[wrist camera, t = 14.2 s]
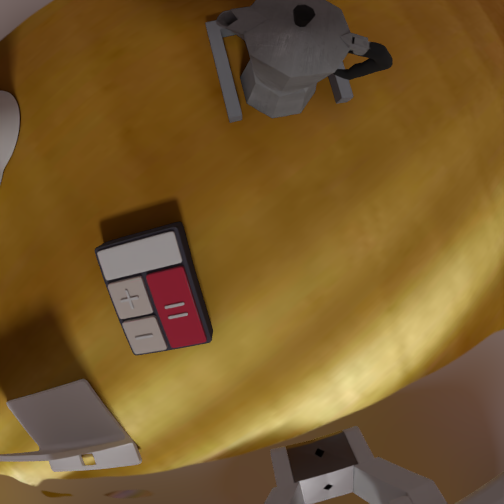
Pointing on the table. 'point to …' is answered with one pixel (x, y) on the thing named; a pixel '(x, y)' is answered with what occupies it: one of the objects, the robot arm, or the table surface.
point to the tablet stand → (72, 429)
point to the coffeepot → (296, 51)
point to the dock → (226, 80)
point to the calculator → (155, 290)
